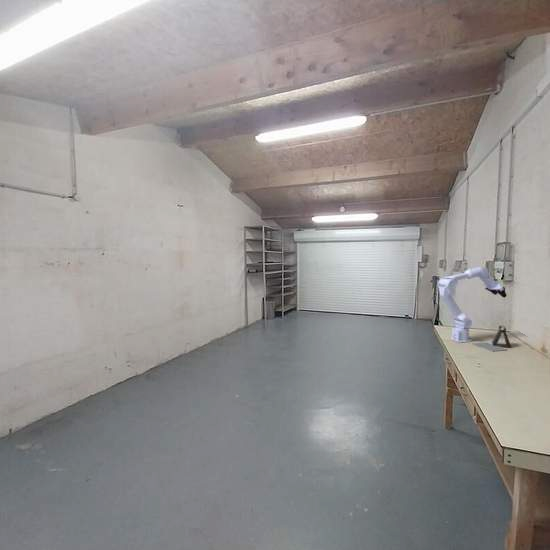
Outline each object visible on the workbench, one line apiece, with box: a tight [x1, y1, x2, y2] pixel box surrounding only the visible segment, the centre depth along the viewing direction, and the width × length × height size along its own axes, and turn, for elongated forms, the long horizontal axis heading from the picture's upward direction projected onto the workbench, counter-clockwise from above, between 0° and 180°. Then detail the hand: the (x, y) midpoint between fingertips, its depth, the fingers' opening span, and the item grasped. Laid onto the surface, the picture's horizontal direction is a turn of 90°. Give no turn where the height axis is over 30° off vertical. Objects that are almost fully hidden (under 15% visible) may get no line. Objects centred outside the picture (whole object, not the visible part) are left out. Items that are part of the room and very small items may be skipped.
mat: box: [472, 342, 509, 353], centre depth 177 cm, size 10×15×1 cm, turn 9°
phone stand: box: [491, 325, 512, 349], centre depth 179 cm, size 9×6×12 cm, turn 57°
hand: (500, 295), depth 194 cm, fingers open, 7 cm apart
